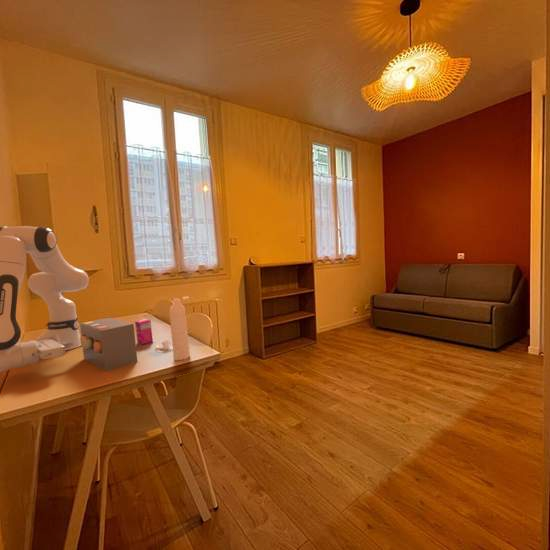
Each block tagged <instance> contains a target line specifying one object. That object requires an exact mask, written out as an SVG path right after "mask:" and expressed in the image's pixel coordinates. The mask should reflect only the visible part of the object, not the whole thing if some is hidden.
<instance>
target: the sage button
mask: <svg viewBox="0 0 550 550" xmlns="http://www.w3.org/2000/svg"><path fill="white" fill-rule="evenodd" d="M92 348H93V340H92V339H87V340H83V341H82V350H83V349H84V350H88V349H92Z"/></svg>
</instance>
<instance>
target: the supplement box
mask: <svg viewBox="0 0 550 550" xmlns="http://www.w3.org/2000/svg"><path fill="white" fill-rule="evenodd" d="M134 329H135V334H136V335H135V338H136V344H138V345H140V346H144V345H148V344H153V343H154V341H153V331H152V322H151V320H150V319H147V318H145V319H141V320H136V321H134Z"/></svg>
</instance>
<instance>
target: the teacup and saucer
mask: <svg viewBox="0 0 550 550" xmlns="http://www.w3.org/2000/svg"><path fill="white" fill-rule="evenodd" d="M154 348H155V350H156V352H158V353H165V352H170V350H171V351H173V346H172V345H171V342H170V340H162V341H161V344H158V345H156V346H155V347H154ZM170 348H171V349H170Z"/></svg>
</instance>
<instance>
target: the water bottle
mask: <svg viewBox="0 0 550 550" xmlns="http://www.w3.org/2000/svg"><path fill="white" fill-rule="evenodd" d="M182 299H183V300H184V301H185V300H189V299H190V296H183V297H182ZM169 320H170V334H171V342H172V343H171V344H172V345H171V346H173V350H172V354H173V357H172V358H173V360H174V361H184V360H186V358H187V359H189V358H190V357H189V356H191V355H190V353H191V352H190V347H189V346H190V344H189V334H188V331H189V330H188V322H187V309H186V307H185V306H184V304H182V302H181V300H180V298H179V297H178V298H176V297H175V298H173V304H172V305H171V306H170V309H169ZM188 357H189V358H188ZM183 359H184V360H183Z"/></svg>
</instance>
